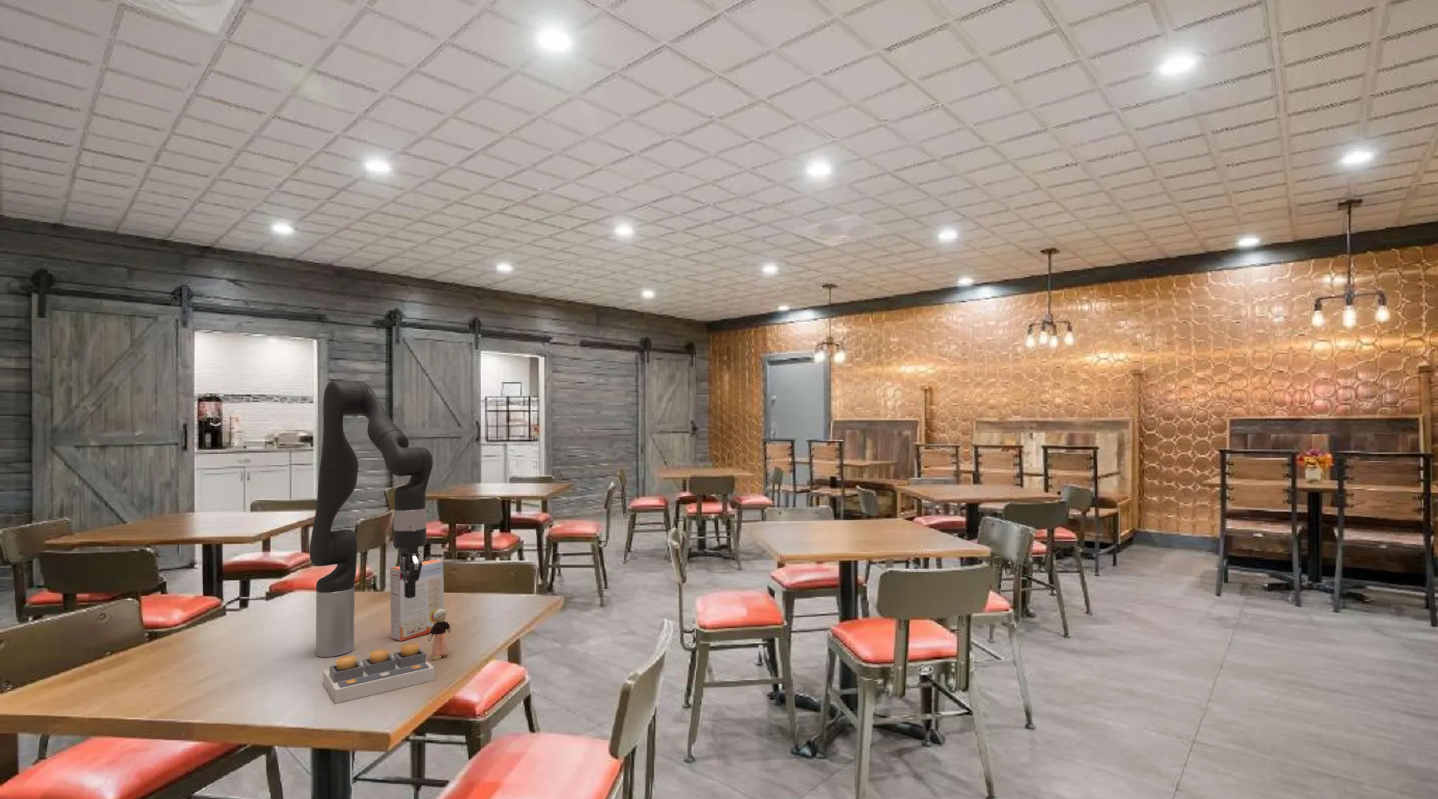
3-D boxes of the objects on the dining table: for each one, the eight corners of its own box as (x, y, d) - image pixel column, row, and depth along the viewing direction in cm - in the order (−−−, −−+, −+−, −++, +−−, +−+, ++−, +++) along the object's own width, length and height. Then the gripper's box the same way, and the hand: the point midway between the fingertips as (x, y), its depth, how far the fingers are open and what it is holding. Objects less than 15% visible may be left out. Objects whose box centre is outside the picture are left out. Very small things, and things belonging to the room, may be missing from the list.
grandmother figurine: (438, 661, 175) (438, 612, 176) (425, 661, 176) (425, 612, 177) (455, 652, 183) (455, 605, 184) (442, 651, 184) (442, 604, 184)
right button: (399, 653, 167) (399, 645, 167) (416, 649, 169) (416, 641, 169) (403, 657, 164) (403, 648, 164) (420, 653, 166) (420, 645, 166)
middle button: (367, 659, 162) (368, 651, 163) (385, 656, 165) (385, 647, 165) (371, 663, 159) (371, 655, 159) (389, 660, 162) (389, 651, 162)
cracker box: (433, 626, 208) (433, 558, 209) (444, 629, 204) (444, 560, 205) (389, 638, 197) (389, 566, 197) (400, 642, 193) (400, 568, 194)
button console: (323, 683, 162) (323, 661, 162) (415, 663, 175) (415, 642, 175) (335, 703, 149) (335, 679, 149) (434, 680, 162) (434, 658, 163)
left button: (335, 666, 158) (335, 657, 158) (354, 662, 161) (354, 654, 161) (338, 671, 155) (338, 662, 155) (357, 666, 157) (357, 658, 158)
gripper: (387, 526, 171) (387, 595, 170) (400, 531, 160) (400, 605, 160) (418, 523, 176) (418, 590, 175) (433, 528, 165) (433, 599, 164)
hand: (409, 597), depth 167 cm, fingers closed
